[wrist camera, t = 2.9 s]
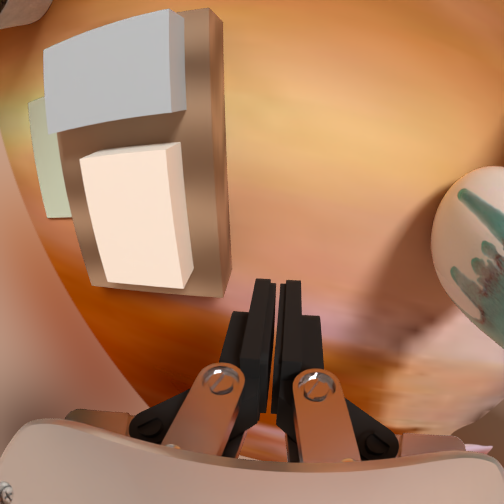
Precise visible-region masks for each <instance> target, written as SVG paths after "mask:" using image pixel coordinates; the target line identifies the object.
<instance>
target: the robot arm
mask: <svg viewBox="0 0 504 504" xmlns="http://www.w3.org/2000/svg"><path fill="white" fill-rule="evenodd" d="M275 298H276V283H271V280H270V279H256V281H255V286H254V291H253V296H252V301H251V305H250V310H249V312H237V311H233V313H232V316H231V320H230V323H229V327H228V331H227V334H226V338H225V342H224V345H223V349H222V353H221V356H220V360H219V363H214V364H211V365H208V366H206V367H205V368H204V369H202V370H201V372H200V373H199V374H198V376H197V378H196V380H195V382H194V383H193V385H192V387H191V388H190V389H188V390H186V391H184V392H182V393H180V394H178V395H176V396H174V397H172V398H170V399H168V400H166V401H164V402H162V403H160V404H157V405H155V406H153V407H151V408H149V409H147V410H145V411H142V412H141V413H139V414H137V415H136V416H131V415H129V413H123V412H108V411H97V410H87V409H76V410H74V411H71V412H70V413H69V414H68V415H67V416H66V417H65V419H39V420H34V421H31V422H28V423H27V424H25V425H24V426H23V427H22V428H21V429H20V430H19V431H18V432H17V433H16V434H15V436H14V437H13V438H12V440H11V441H10V443H9V444H8V446H7V447H6V449H5V451H4V453H3V454H2V456H1V458H0V504H504V469H503V467H502V466H501V464H500V463H499V462H498V461H497V460H496V459H495V458H493V457H491V456H488V455H486V454H482V453H478V452H473V451H466V449H465V445H464V444H463V442H462V440H460V439H459V438H457V437H454V436H446V435H425V434H411V433H403V434H402V435H395V434H394V433H393V432H392V431H391V430H389V429H388V428H387V427H385V426H384V425H382V424H381V423H379V422H378V421H376V420H375V419H374V418H372V417H371V416H369V415H368V414H367V413H365V412H364V411H362V410H361V409H360V408H358V407H357V406H355V405H354V404H353V403H351V402H350V401H349V400H347V399H346V398H345V397H344V395H343V391H342V388H341V384H340V382H339V380H338V378H337V377H336V376H335V375H334V374H332V373H331V372H329V371H327V370H324V363H323V349H322V335H321V323H320V316H309V315H302V307H301V281H297V280H286V284H280V298H279V310H278V323H277V334H276V346H275V357H274V372H273V388H272V404H271V414H277V419H276V425H277V426H278V427H279V428H281V429H282V430H283V431H284V432H285V441H286V450H287V460H288V462H269V461H256V460H246V459H238V457H239V454H240V451H241V449H242V446H243V443H244V440H245V438H246V435H247V429H249V428H250V427H252V426H253V425H255V424H257V421H259V417H260V413H266V408H267V400H268V391H269V381H270V372H271V362H272V352H273V341H274V322H275Z"/></svg>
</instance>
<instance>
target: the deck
mask: <svg viewBox="0 0 504 504" xmlns="http://www.w3.org/2000/svg"><path fill="white" fill-rule="evenodd" d="M177 14H178V15H180V16H182V17H183V18H184V49H185V85H186V108H187V110H182V111H177V112H172V113H163V114H155V115H147V116H139V117H132V118H126V119H120V120H114V121H108V122H103V123H97V124H92V125H87V126H83V127H78V128H74V129H69V130H65V131H61V132H57V140H58V147H59V154H60V160H61V166H62V172H63V177H64V183H65V188H66V193H67V197H68V202H69V206H70V211H71V215H72V219H73V223H74V227H75V231H76V235H77V238H78V242H79V246H80V249H81V252H82V256H83V259H84V262H85V266H86V269H87V272H88V275H89V278H90V281H91V284H92V286H100V287H109V288H117V289H127V290H136V291H146V292H157V293H167V294H179V295H191V296H204V297H218V298H223V297H224V294H225V291H226V287H227V284H228V281H229V278H230V274H231V271H232V261H231V243H230V224H229V204H228V182H227V159H226V132H225V101H224V62H223V22H222V21H221V20H220V19H219V18H218V17H217V15H216V14H215V13H214V12H213V11H212V10H211V9H210V8H203V9H196V10H189V11H183V12H177ZM174 142H181V153H182V165H183V177H184V188H185V198H186V208H187V217H188V226H189V234H190V243H191V251H192V259H193V266H194V269H193V271H192V273H191V275H190V277H189V279H188V281H187V283H186V285H185V287H184V289H180V288H168V287H156V286H145V285H134V284H124V283H114V282H108V281H107V278H106V275H105V271H104V268H103V264H102V261H101V257H100V254H99V250H98V246H97V242H96V238H95V234H94V230H93V226H92V222H91V218H90V213H89V208H88V204H87V199H86V194H85V189H84V183H83V178H82V172H81V166H80V159H81V158H83V157H85V156H88V155H90V154H92V153H95V152H97V151H100V150H105V149H113V148H121V147H130V146H139V145H149V144H161V143H174Z"/></svg>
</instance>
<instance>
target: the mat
mask: <svg viewBox="0 0 504 504" xmlns="http://www.w3.org/2000/svg"><path fill="white" fill-rule="evenodd" d="M28 110H29V121H30V130H31V138H32V145H33V152H34V158H35V164H36V169H37V175H38V180H39V184H40V189H41V194H42V198H43V202H44V207H45V211H46V215H47V218H61V217H72V215H71V211H70V206H69V202H68V197H67V193H66V188H65V183H64V177H63V172H62V166H61V160H60V154H59V147H58V140H57V133H53V134H49V135H48V128H47V118H46V108H45V96H44V97H42V98H39V99H36V100H34V101H31V102H29V103H28Z"/></svg>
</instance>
